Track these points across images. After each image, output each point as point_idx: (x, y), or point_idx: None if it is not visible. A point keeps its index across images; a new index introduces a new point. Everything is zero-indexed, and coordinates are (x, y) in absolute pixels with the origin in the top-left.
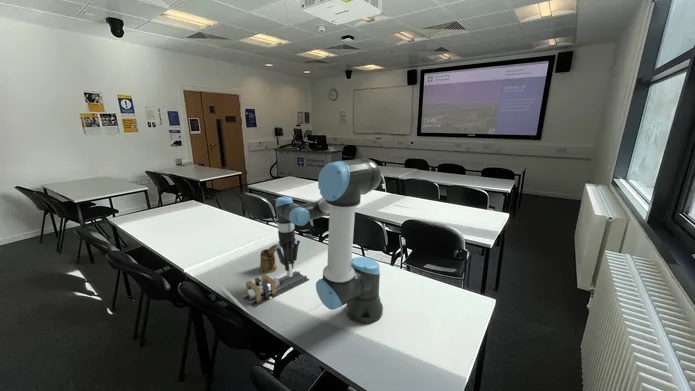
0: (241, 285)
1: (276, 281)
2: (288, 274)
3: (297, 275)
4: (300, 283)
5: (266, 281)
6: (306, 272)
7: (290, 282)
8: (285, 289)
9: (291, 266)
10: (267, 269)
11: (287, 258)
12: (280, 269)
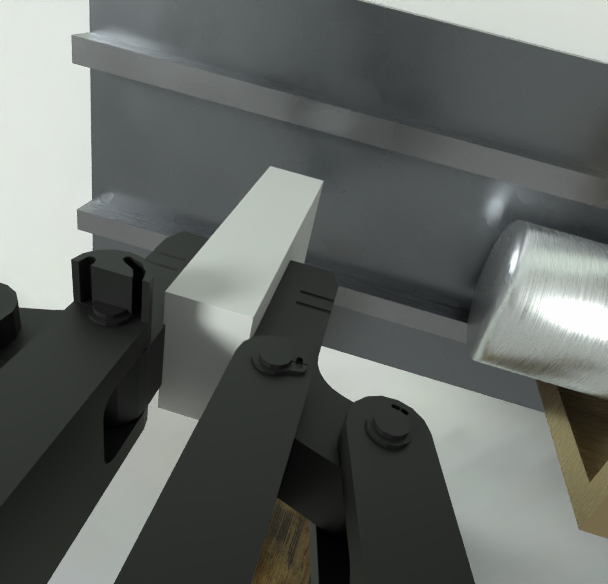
0: (578, 563)
1: (569, 289)
2: (306, 239)
3: (141, 197)
4: (257, 4)
5: (572, 418)
6: (11, 159)
7: (319, 168)
8: (507, 108)
9: (211, 259)
10: (298, 526)
11: (207, 536)
12: (174, 429)
